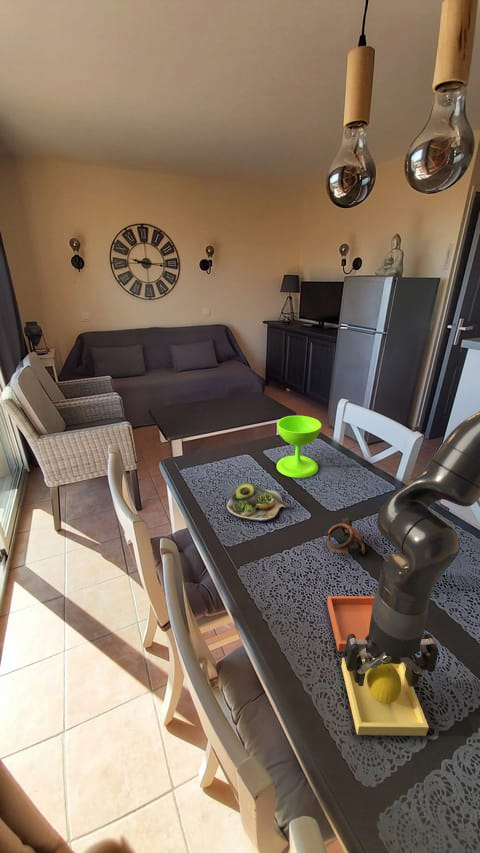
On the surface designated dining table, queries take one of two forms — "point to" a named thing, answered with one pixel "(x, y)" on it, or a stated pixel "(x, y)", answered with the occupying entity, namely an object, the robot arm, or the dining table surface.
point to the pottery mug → (349, 532)
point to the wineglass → (298, 445)
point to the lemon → (384, 683)
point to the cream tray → (385, 708)
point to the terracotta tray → (350, 617)
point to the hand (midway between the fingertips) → (384, 680)
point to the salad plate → (254, 503)
